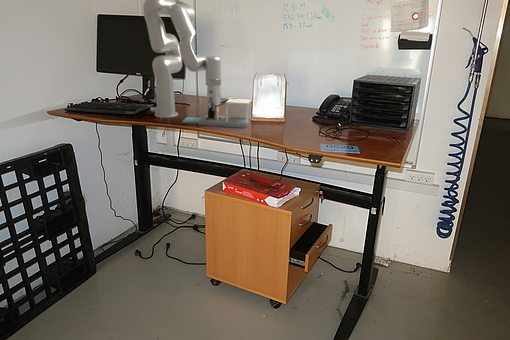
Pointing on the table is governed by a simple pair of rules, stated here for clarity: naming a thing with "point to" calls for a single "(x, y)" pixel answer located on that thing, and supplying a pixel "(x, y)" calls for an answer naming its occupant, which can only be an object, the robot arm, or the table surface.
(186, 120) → the teal mat
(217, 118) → the maple block
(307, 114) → the table surface
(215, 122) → the puzzle board
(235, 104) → the sliding cover
